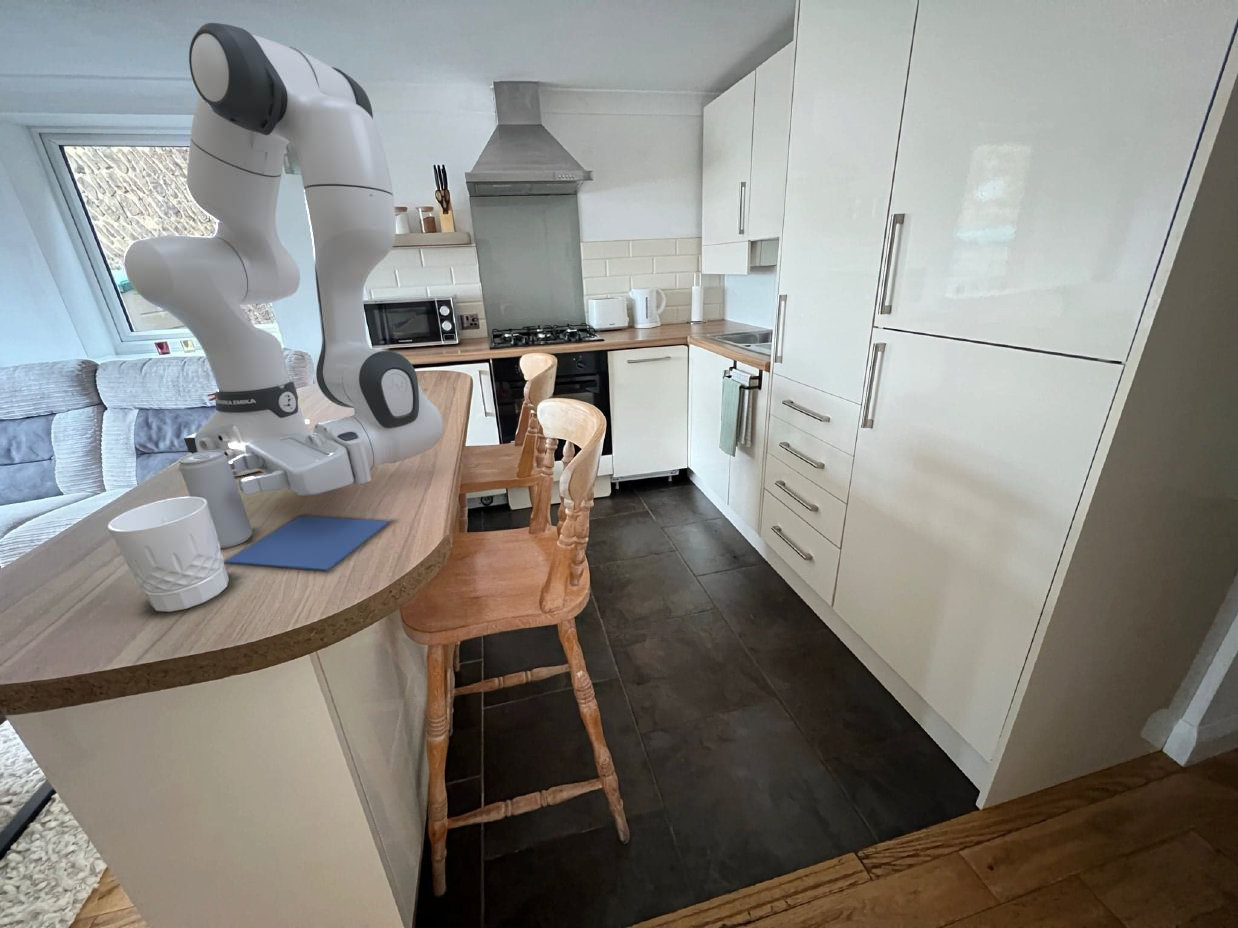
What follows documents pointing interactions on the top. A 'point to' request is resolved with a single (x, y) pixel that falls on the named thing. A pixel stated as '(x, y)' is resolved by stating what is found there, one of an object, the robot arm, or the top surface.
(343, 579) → the top surface
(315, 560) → the blue cloth
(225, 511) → the beverage can
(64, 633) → the top surface
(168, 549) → the white cup
